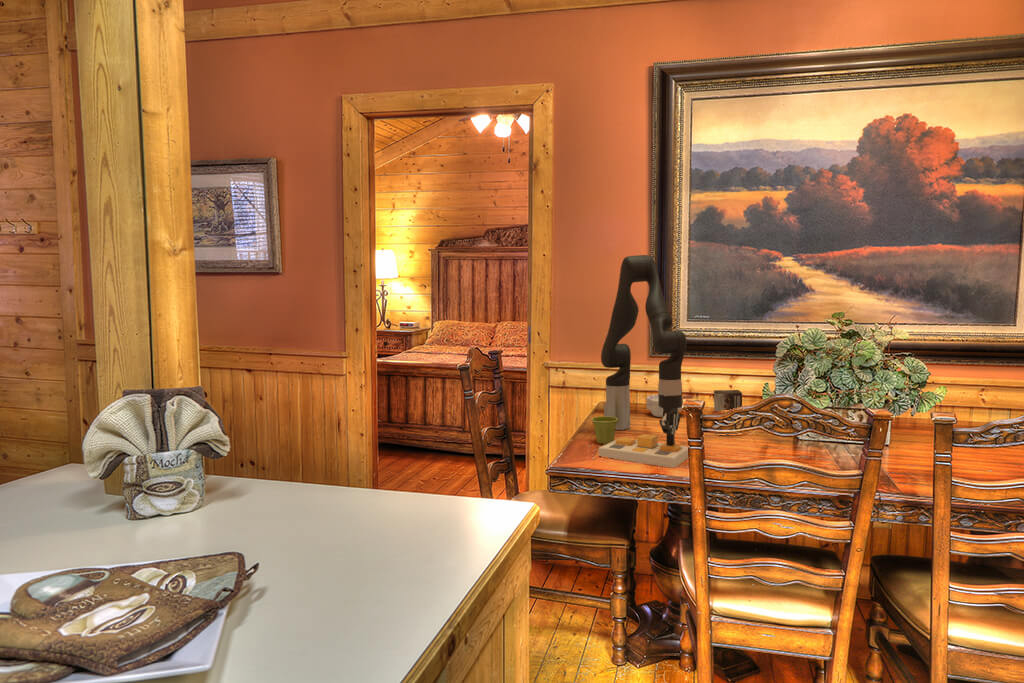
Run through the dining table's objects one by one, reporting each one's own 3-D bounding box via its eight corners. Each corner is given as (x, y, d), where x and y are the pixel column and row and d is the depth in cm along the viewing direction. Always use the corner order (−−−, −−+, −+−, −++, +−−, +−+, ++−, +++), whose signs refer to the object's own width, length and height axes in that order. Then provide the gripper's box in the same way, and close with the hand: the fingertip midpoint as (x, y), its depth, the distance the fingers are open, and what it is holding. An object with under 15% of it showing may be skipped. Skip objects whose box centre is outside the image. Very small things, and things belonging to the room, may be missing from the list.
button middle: (637, 445, 217) (637, 437, 217) (643, 442, 222) (643, 433, 221) (651, 447, 215) (651, 438, 214) (657, 444, 219) (657, 435, 218)
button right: (660, 454, 213) (660, 445, 213) (666, 451, 217) (666, 442, 217) (675, 456, 210) (675, 447, 210) (680, 453, 214) (680, 444, 214)
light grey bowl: (686, 419, 271) (686, 400, 270) (649, 419, 272) (648, 400, 271) (679, 411, 286) (679, 393, 285) (644, 412, 287) (644, 394, 286)
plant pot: (593, 446, 232) (593, 422, 231) (590, 439, 241) (590, 416, 240) (620, 445, 232) (619, 421, 231) (616, 439, 241) (615, 415, 240)
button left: (615, 448, 222) (615, 440, 222) (622, 445, 226) (622, 437, 226) (629, 450, 219) (629, 441, 219) (635, 447, 223) (635, 438, 223)
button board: (598, 456, 218) (598, 446, 217) (620, 446, 231) (620, 436, 230) (673, 467, 203) (673, 457, 202) (692, 455, 216) (692, 445, 215)
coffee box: (738, 431, 246) (738, 389, 245) (742, 436, 240) (743, 392, 238) (713, 432, 247) (713, 389, 246) (717, 436, 241) (717, 392, 239)
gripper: (667, 388, 219) (667, 439, 221) (650, 394, 208) (651, 448, 210) (688, 390, 215) (689, 442, 216) (673, 396, 204) (673, 451, 206)
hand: (670, 444), depth 213 cm, fingers closed
